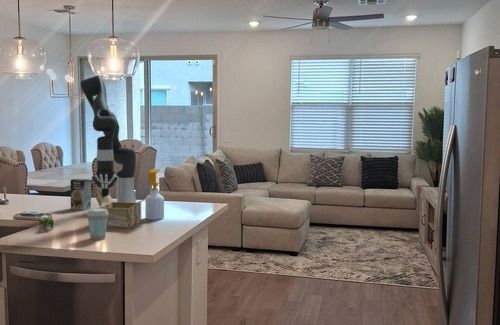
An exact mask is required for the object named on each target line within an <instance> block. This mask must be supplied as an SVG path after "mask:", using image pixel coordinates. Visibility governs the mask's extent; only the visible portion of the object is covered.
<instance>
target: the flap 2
mask: <svg viewBox="0 0 500 325" xmlns="http://www.w3.org/2000/svg"><path fill="white" fill-rule="evenodd" d="M152 196H153V195H152ZM152 196H150V197H152ZM150 197H148V198H150ZM148 198H146V197H145V198H144V199H142V200H139V202H136V204H134V205H133V206H135V205H137V204H138V203H142V202H145V200H146V199H148ZM133 206H131V207H133ZM131 207H129V208H131Z"/></svg>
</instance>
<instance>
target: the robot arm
mask: <svg viewBox="0 0 500 325" xmlns="http://www.w3.org/2000/svg"><path fill="white" fill-rule="evenodd" d="M80 88H81V90H82V92H83V94H84V97H85V98H86V100H87V101H88V104H89V105H90V107H91V109H92V111H93V116H94V117H93V119H92V127H93V130H94V131H97V132H102V133H103V135H102V136H98V138H97V139H96V172H95V174H94V175H93V176H91V180H92V181H93V182H94V184H95V185H96V186H97V188H101V190H102V195H103V196H106V197H107V196H108V195H109V193H110V188H111V187H112V188H113V187H114V185H115V184H116V202H131V203H137V202H136V201H137V200H136V197H137V196H136V194H137V193H136V190H135V173H136V166H137V165H136V163H137V162H136V161H137V156H136V155H137V154H136V152H135V150H134V149H133V148H131V147H123V145H122V143H121V142H120V139H119V138H120V136H119V135H120V124H119V121H118V120H117V117H116V115H115V114H114V113H113V112H112V111H111V110H109V105H108V100H107V98H108V97H107V89H106V85H105V82H104V79H103V78H102V77H101V75H95V76H91V77H88V78H85V79H83V80H81V81H80ZM114 162H115V163H116V164H118V165H122V168H121V170H119V171H117V172H116V174H115V171H114V169H115V168H114V166H115V165H114V164H115V163H114Z"/></svg>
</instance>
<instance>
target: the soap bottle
mask: <svg viewBox="0 0 500 325" xmlns="http://www.w3.org/2000/svg"><path fill="white" fill-rule="evenodd" d="M160 170H161V169H159V168H152V169H151V170H149V171H148V173H147V176H148V178H147V180H148V184H150V185H151V186H152V188H151V190H150V191H151V193H150V194H148V195H147V196H146V197H145V199H146V198H148V197H150V196H152V195H153V196H152V197H150V198H148V199H146V200H144V203H145V206H144V207H145V209H144V210H145V215H144V216H145V219H147V220H151V221H157V220H158V221H159V219H160V220H163V219H164V218H165V197H164V196H163V195H161V194H160V193H159V188H158V185H160V184H161V182H158V181H157V173H158V172H160Z"/></svg>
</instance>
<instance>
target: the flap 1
mask: <svg viewBox="0 0 500 325" xmlns="http://www.w3.org/2000/svg"><path fill="white" fill-rule="evenodd" d="M93 195H94V197H95V199H96V201H97V203H98V206H99V207H102V206H104V205H107V204H109V203H111V202H114V200H113V198H112V196H111V194H110V192H109V195H108V196H107V197H106V196H103V195H102V189H100V190H97V191H94V192H93Z"/></svg>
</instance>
